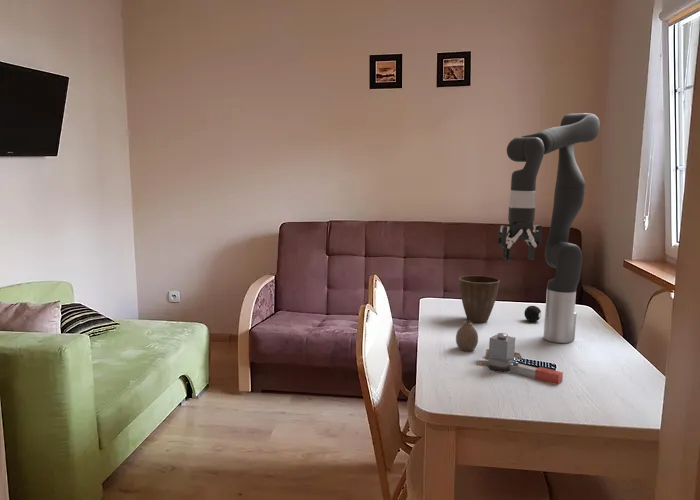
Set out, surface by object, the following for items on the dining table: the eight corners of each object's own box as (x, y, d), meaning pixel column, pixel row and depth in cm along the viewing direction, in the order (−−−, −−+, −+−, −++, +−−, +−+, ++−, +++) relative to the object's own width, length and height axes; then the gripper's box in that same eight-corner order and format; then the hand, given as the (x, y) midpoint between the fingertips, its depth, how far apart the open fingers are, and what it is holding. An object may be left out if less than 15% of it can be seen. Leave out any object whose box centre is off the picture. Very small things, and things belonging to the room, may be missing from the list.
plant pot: (450, 321, 215) (453, 279, 212) (465, 313, 227) (467, 273, 225) (489, 328, 207) (492, 284, 205) (502, 319, 220) (504, 278, 217)
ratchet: (494, 362, 170) (495, 342, 170) (564, 379, 158) (566, 357, 157) (483, 368, 165) (485, 347, 164) (555, 386, 152) (557, 364, 151)
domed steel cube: (496, 353, 169) (498, 330, 168) (514, 357, 166) (515, 334, 165) (488, 358, 165) (489, 334, 164) (506, 362, 161) (507, 338, 160)
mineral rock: (484, 354, 171) (487, 340, 178) (483, 366, 173) (486, 352, 180) (521, 360, 167) (523, 346, 174) (520, 373, 169) (522, 358, 176)
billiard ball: (528, 318, 222) (529, 303, 221) (543, 321, 218) (544, 306, 217) (521, 321, 218) (522, 305, 217) (536, 324, 214) (537, 308, 213)
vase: (477, 353, 178) (479, 326, 177) (455, 351, 180) (456, 324, 178) (477, 346, 185) (478, 320, 184) (455, 345, 186) (456, 318, 185)
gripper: (533, 204, 176) (530, 257, 178) (494, 205, 171) (491, 259, 173) (550, 206, 169) (546, 261, 171) (509, 207, 164) (506, 263, 166)
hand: (518, 260), depth 172 cm, fingers open, 8 cm apart
